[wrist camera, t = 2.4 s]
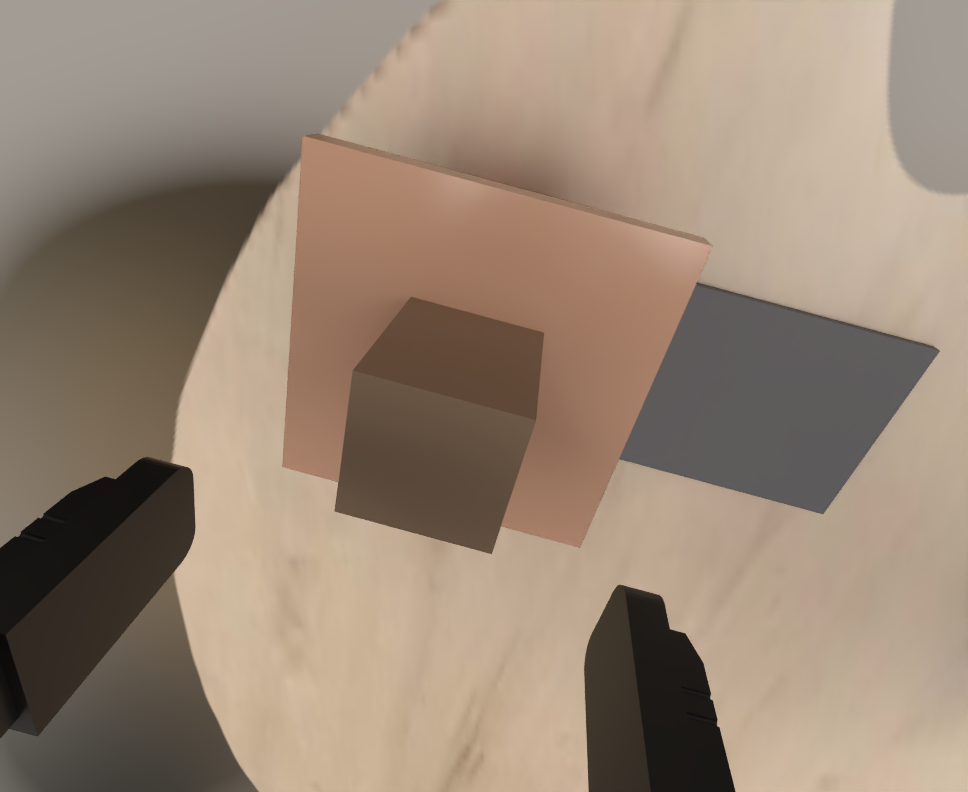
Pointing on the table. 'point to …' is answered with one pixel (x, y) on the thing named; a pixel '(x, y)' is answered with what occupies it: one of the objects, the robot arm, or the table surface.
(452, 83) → the table surface
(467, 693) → the table surface
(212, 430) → the table surface
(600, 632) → the robot arm
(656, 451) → the mat
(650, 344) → the cover
